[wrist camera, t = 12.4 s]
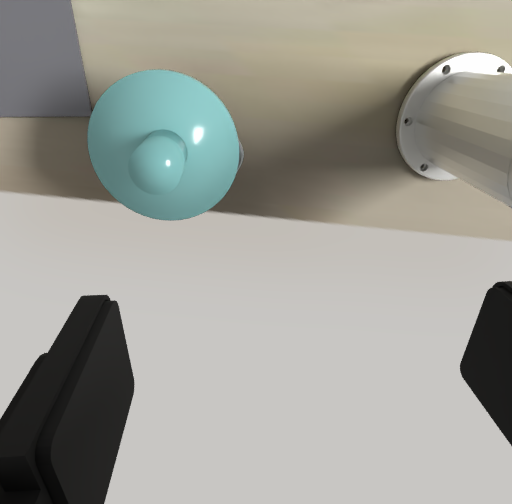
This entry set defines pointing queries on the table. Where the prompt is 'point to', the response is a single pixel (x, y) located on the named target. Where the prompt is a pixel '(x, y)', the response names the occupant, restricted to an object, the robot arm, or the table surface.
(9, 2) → the mat
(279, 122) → the table surface
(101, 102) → the lid
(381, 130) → the table surface
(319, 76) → the table surface
